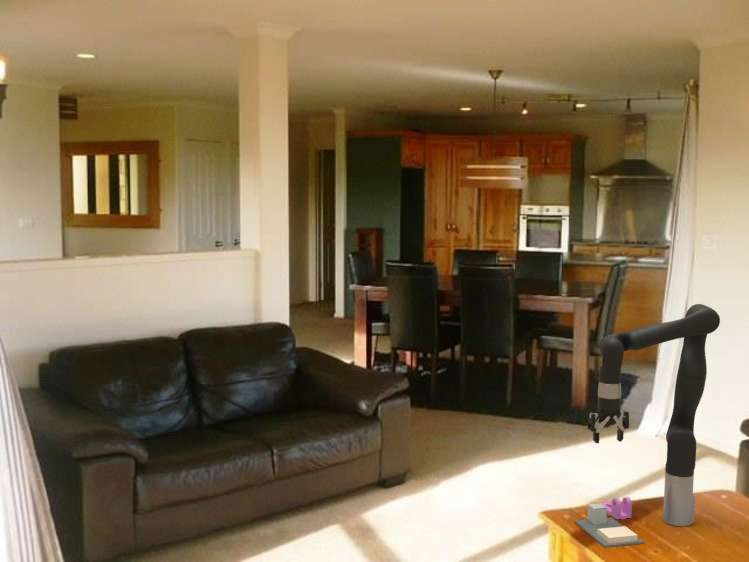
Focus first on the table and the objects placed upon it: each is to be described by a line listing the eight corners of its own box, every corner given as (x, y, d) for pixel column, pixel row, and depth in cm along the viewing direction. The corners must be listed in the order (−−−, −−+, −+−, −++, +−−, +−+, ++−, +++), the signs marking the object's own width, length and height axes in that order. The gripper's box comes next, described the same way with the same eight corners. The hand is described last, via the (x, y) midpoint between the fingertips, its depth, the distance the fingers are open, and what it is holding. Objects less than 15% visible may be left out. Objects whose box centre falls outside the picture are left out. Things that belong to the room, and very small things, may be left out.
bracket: (631, 518, 296) (632, 499, 296) (617, 520, 295) (617, 500, 294) (610, 505, 309) (611, 486, 308) (597, 506, 307) (597, 488, 306)
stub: (599, 518, 294) (599, 503, 294) (606, 523, 289) (606, 508, 289) (587, 519, 293) (588, 504, 293) (594, 525, 288) (595, 509, 288)
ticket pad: (611, 519, 295) (611, 511, 295) (644, 543, 275) (644, 535, 275) (574, 522, 292) (574, 514, 292) (604, 547, 272) (605, 539, 272)
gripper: (622, 391, 294) (621, 437, 296) (584, 393, 291) (583, 440, 293) (634, 396, 287) (632, 443, 289) (595, 399, 284) (594, 446, 285)
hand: (608, 441), depth 291 cm, fingers open, 8 cm apart
